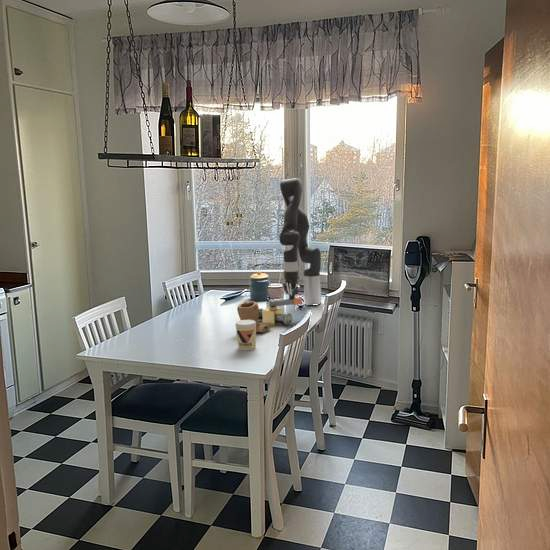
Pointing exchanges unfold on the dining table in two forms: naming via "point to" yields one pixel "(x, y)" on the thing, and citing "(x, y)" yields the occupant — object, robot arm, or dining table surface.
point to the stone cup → (252, 315)
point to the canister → (259, 286)
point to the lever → (285, 302)
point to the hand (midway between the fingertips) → (292, 301)
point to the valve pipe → (274, 316)
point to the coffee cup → (246, 334)
